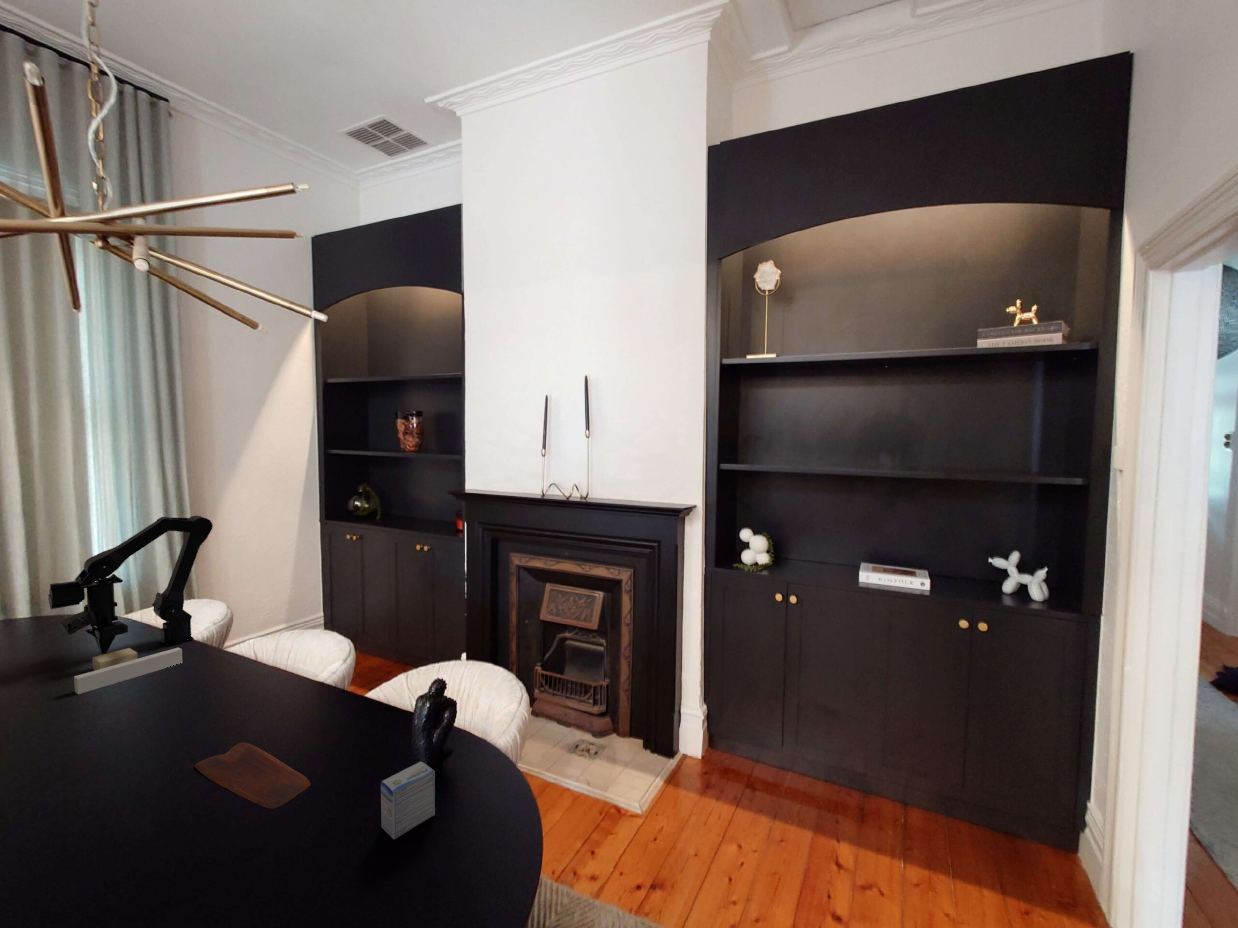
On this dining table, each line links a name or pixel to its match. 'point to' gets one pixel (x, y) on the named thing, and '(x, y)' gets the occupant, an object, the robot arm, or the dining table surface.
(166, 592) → the robot arm
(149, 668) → the fence bar
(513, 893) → the dining table surface
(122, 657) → the maple block
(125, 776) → the dining table surface
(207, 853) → the dining table surface
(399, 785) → the medicine box
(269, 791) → the wooden tablet
